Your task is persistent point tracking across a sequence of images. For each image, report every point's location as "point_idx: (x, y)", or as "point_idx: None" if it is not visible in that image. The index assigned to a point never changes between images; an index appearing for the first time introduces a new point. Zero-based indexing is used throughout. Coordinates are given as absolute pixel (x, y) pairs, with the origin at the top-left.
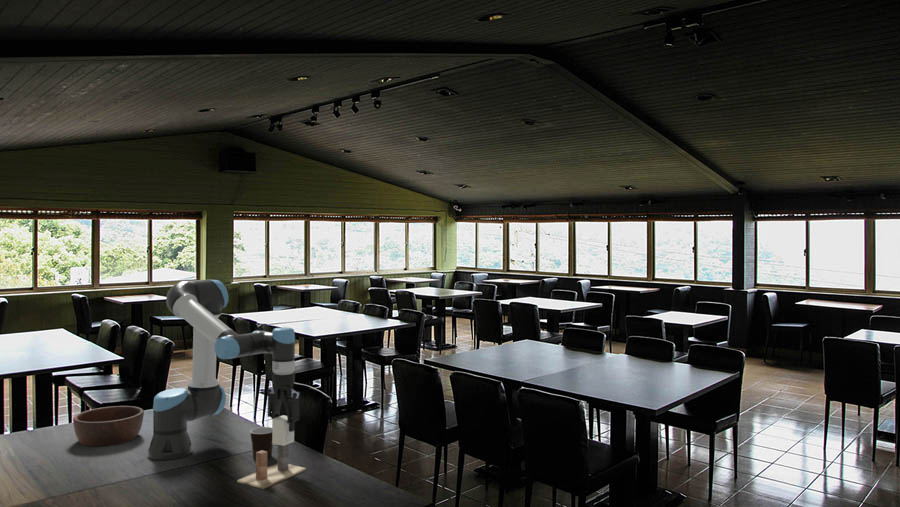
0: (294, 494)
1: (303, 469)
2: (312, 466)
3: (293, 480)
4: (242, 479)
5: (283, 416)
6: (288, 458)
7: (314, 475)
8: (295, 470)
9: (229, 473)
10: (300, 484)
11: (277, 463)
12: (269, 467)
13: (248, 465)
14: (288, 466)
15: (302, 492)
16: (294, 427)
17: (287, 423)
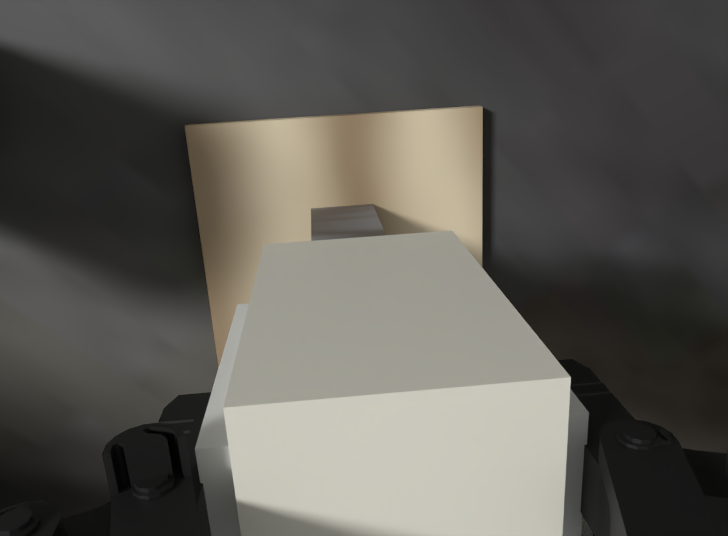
0: (696, 450)
1: (482, 138)
2: (470, 8)
3: (542, 310)
4: None
5: (319, 469)
6: (381, 226)
7: (615, 155)
8: (445, 195)
9: (58, 474)
10: (631, 330)
11: (194, 167)
12: (218, 268)
13: (10, 303)
14: (328, 163)
15: (722, 406)
16: (602, 384)
17: (567, 532)
